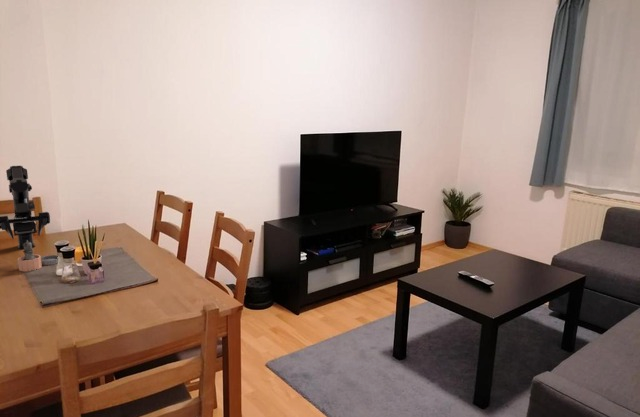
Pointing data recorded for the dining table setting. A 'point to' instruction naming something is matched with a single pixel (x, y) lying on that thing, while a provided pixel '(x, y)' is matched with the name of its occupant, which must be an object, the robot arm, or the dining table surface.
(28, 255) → the grey chess piece
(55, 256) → the charcoal tray
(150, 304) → the dining table surface
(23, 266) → the pink ribbed bowl
